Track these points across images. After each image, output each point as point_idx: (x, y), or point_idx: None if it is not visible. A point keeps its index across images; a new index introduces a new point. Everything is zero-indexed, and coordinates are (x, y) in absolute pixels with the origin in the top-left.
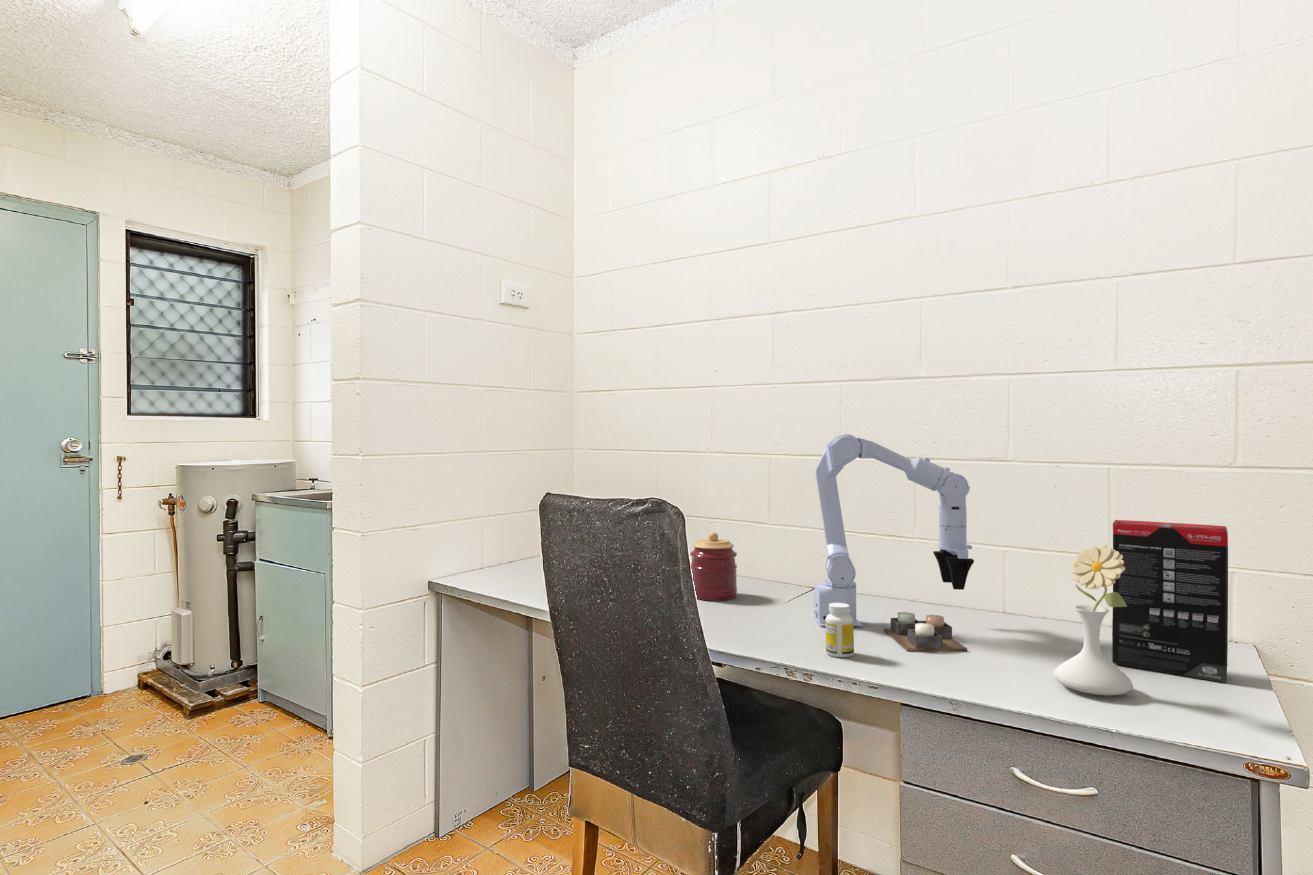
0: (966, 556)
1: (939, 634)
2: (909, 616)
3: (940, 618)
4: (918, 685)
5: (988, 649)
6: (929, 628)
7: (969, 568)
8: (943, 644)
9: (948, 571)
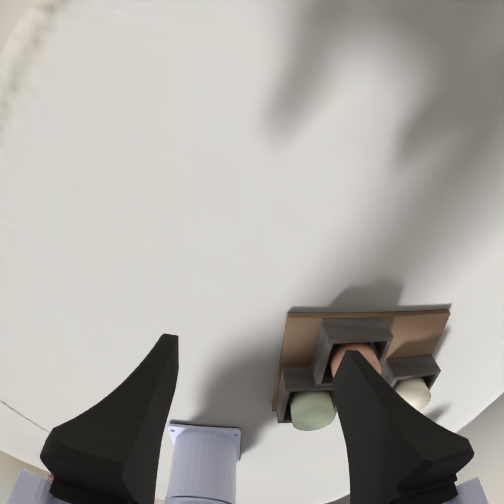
0: (476, 491)
1: (429, 373)
2: (334, 417)
3: (378, 370)
4: (495, 393)
5: (451, 259)
6: (429, 398)
7: (433, 424)
8: (414, 347)
9: (164, 397)
